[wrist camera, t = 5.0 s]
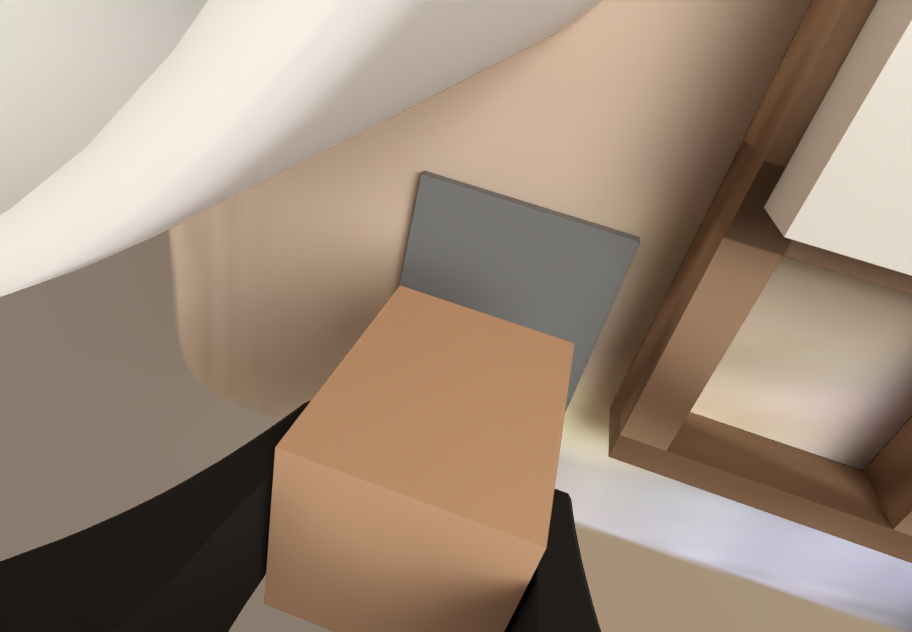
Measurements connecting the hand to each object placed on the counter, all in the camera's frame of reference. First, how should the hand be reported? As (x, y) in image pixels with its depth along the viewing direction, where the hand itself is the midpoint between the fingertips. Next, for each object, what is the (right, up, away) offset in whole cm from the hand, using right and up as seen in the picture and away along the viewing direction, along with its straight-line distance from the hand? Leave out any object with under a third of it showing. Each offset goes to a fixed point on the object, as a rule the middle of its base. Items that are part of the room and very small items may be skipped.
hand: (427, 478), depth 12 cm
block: (+1, +2, +3) cm, 4 cm away
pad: (+2, +4, +7) cm, 9 cm away
